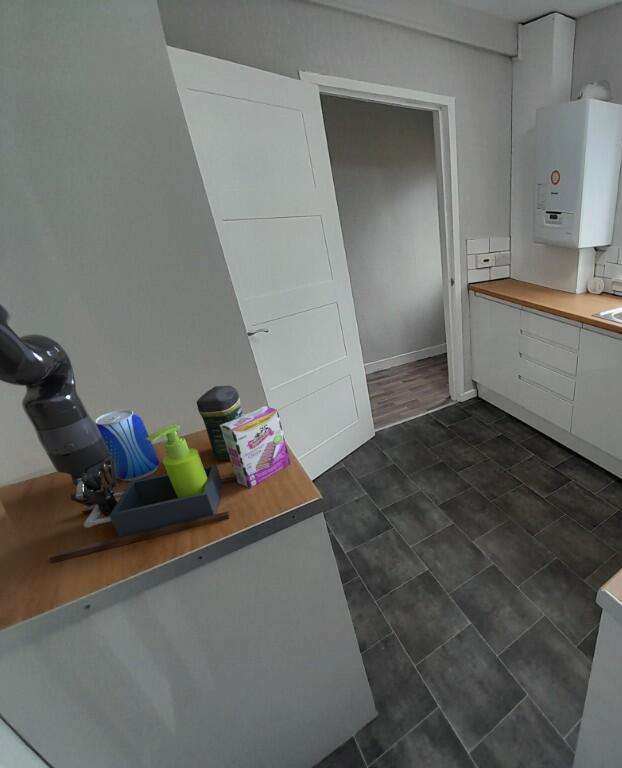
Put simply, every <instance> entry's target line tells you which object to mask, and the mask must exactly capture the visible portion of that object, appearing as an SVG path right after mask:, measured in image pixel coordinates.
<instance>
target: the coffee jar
mask: <svg viewBox="0 0 622 768" xmlns="http://www.w3.org/2000/svg"><path fill="white" fill-rule="evenodd" d="M196 406H197V411H198V413H199V415H200V416H201V418H202V420H203V423H204V427H205V430H206V434H207V437H208V440H209V443H210V448H211V451H212V455H213V457H214V460H215V461H216V462H220V463H221V462H222V463H223V462H224V463H225V462H231V460H230V456H229V453H228V450H227V447H226V444H225V441H224V438H223V434H222V431H221V428H220V425H222V424H224V423H227V422H229V421H231V420H234V419H236V418H238V417H241V416H243V415H244V413H243V409H242V403H241V397H240V394H239V391H238V389H237V388H235V387H234V386H232V385H216V386H213V387H212V388H211V389H209V390H207V391H206V392H204V394H202V395H201V396H200V397H199V398H198V399H197V400H196Z"/></svg>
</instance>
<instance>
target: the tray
mask: <svg viewBox="0 0 622 768" xmlns="http://www.w3.org/2000/svg"><path fill="white" fill-rule="evenodd" d="M203 467H204V470H205V472H206V475H207V478H208V480H207V483H206V486H205V489H204V492H203V493H201V494H197V495H192V496H187V497H183V498H178V497H177V495H176V492H175V490H174V488H173V485H172V483H171V481H170V478H169V476H168V473H166V474H161V475H157V476H151V477H145V478H142V479H139V480H134V481H129V482H128V484H127V486H126V487H125V489H124V491H119V492H116V493H115V492H114V495H113V496H114V498H115V499H117V498H119V499H118V500H117V501H118V502H117V504H116V506H115V507H114V509H113V511H112V512H111V514H110V516H105V517H102V518H99V517H100V516H101V514H102V512H101V510H100V508H99V507H98V505H94V506H95V508H94V509H93V511H92V512H91V514H89V515H88V517H87V518H86V520H85V521H84V523H83V527H84V528H93V526H97V525H100V524H104V523H109V522H112V524H113V526H114V529H115V530H116V533H117V534H118V537H123V536H127V535H131V534H135V533H139V532H144V531H148V530H152V529H156V528H160V527H165V526H169V525H173V524H177V523H181V522H185V521H190V520H194V519H198V518H202V517H206V516H211V515H215V514H217V510H218V506H219V504H220V503H219V502H220V498H221V495H222V491H223V488H224V484H223V483H222V480H221V479H222V477H221V474H220V472H219V471H220V470H219V468H218V465H217V464H212V465H207V466H203Z"/></svg>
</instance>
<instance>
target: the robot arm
mask: <svg viewBox="0 0 622 768" xmlns="http://www.w3.org/2000/svg"><path fill="white" fill-rule="evenodd" d="M11 316H12V315H11V313H10V312H9V310H8V309H7V308H6V307H5V306H4V305H3V304H1V303H0V382H3V383H6V384H9V385H13V386H18V387H19V386H20V387H21V386H22V387H25V390H26V391H25V395H24V396H23V398H22V400H21V406H22V409H23V411H24V413H25V415H26V416H27V418H28V420H29V422H30V423H31V425H32V427H33V428H34V431H35V434H36V436H37V440H38V441H39V443H40V445H41V446H42V449H43V450H44V452H45V454H46V455H47V457H48V458H49V460H50V462H51V463H52V465H53V468H54V469H55V470H56V471H57V472H58V473H63V474H68V475H70V477H71V482H72V484H73V485H74V486H75V487H76V493H71V494H70V497H69V498H70V501H73V502H75V503H78V504H80V505H83V506H85V507H91V506H96V505H98V507H99V508H100V510H101V514H102V515H103V517H110V514H111V512H112V511H113V509H114V507H115V506H116V504H117V501H118V500H116V499H117V498H114V496H113V495H114V494H115V490H114V488H116V487H117V478H116V476H115V468H114V460H113V459H109V460H107V458H108V456H109V455H110V451H109V449H108V447H107V445H106V443H105V441H104V439H103V437H102V435H101V433H100V431H99V429H98V427H97V425H96V423H95V420H94V419H93V417H91V415H90V413H89V412H88V410H87V407H86V405H85V404H84V402H83V401H82V398H81V396H80V395H79V393H78V390H77V384H76V378H75V373H74V369H73V364H72V361H71V359H70V356H69V354H68V352H67V350H66V349H65V348H64V347H63V346H62V345H61V344H60V343H59V342H58V341H56V340H55V339H53V338H51V337H49V336H46V335H42V334H25V335H22V336H19V335H18V334H17V333H16V332H15V331H14V329H12V328H11V326H10V325H9V322H10V321H11Z"/></svg>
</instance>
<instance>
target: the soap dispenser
mask: <svg viewBox="0 0 622 768" xmlns="http://www.w3.org/2000/svg"><path fill="white" fill-rule="evenodd" d="M178 430H181V426H180V425H177V424H171V425H168V426H165V427H162V428H160V429H158V430H156V431H154V432H153V433H151V434H148V435H149V436H148V437H147V438H145V439H146V440H150V441H151V442H156V441H157V440H159V439H160V438H162V437H164V436H166V438H167V441H166V442H165V443H164V448H165V450H166V453H167V455H166V456H164V458H163V459H162V464H163V466H164V468H165V471H166V474H168V476H169V478H170V481H171V483H172V485H173V488H174V490H175V492H176V495H177V497H176V498H177V499H178V498H183V497H187V496H192V495H197V494H201V493H203V492H204V489H205V486H206V483H207V480H208V478H207V475H206V472H205V470H204V467H205V466H204V464H203V462H202V459H201V457H200V454H199V451H198V449H196V448H191V447H190V448H189V447H188V443H187V441H186V438H184V437H179V435H178V432H177V431H178Z"/></svg>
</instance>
